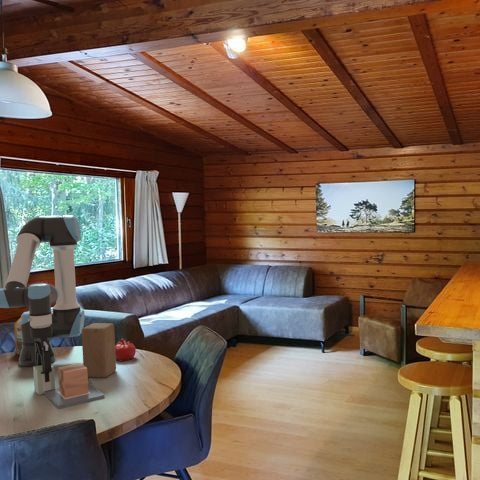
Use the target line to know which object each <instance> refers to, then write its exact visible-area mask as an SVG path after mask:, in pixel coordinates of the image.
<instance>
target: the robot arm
mask: <svg viewBox="0 0 480 480" xmlns="http://www.w3.org/2000/svg"><path fill="white" fill-rule="evenodd" d="M81 234H82V233H81V226H80V223H79V220H78V219H77V217H76V216H75V215H70V214H69V215H68V214H62V215H60V214H59V215H56V214H55V215H38V216H35V217H33V218H31V219H30V220H29V221H27V222H26V223H25V224H24V225H23V226H22V228H21V229H20V230H19V232H18V234H17V237H16V244H17V245H16V249H15V251H14V252H15V253H14V256H13V259H12V262H11V265H10V269H9V273H8V277H7V279H6V283H5V287H2V288H0V308H1V309H2V308H3V309H11V308H27V307H28V311H24V312H25V313H24V312H23V313H22V314H21V316H20V318H21V332H22V350H21V353H20V355H19V358H18V365H19V366H20V367H21V366H22V367H26V368H27V367H32V368H33V367H35V366H41V365H42V369H43V372H41V374H42V381H43V391H47V390H51V377H50V372H52V367H51V365H52V363H54V362H55V361H56V353H55V351H54V348H53V346H52V343H51V339H53V338H72V337H79V336H81V335H82V328H84V327H85V326H84V325H85V317H86V314H85V310H84V309H81V305H80V304H79V303H78V302H77V287H76V284H77V283H76V269H75V267H76V266H75V248H76V247H77V246H78V242H80V241H81V240H82V235H81ZM41 243H49V248H51V249H52V251H53V268H54V269H53V270H54V285H52V284H51V285H50V284H49V283H34V284H30V285H27V284H28V281H29V277H30V273H31V270H32V266H33V262H34V259H35V256H36V251H37V249H38V248H39V247H40V245H41ZM54 304H55V305H54ZM52 305H54V306H53V307H52Z"/></svg>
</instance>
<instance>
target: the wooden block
mask: <svg viewBox="0 0 480 480" xmlns="http://www.w3.org/2000/svg"><path fill="white" fill-rule="evenodd" d="M115 335H116V334H115V325H114V323H109V322H107V323H106V322H103V323H101V322H92V323H91V324H89V325H87V326H83V328H82V333H81V347H82V349H81V350H82V365H84V366H85V367H86V368H87V372H88V378H97V377H98V378H99V379H102V378H103V379H104V378H105V377H106V378H107V377H109V376H111V375H112V374H113V373H115V372H116V370H117V360H116V355H115V346H116V337H115Z"/></svg>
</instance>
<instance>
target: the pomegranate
mask: <svg viewBox="0 0 480 480" xmlns="http://www.w3.org/2000/svg"><path fill="white" fill-rule="evenodd" d="M120 340H121V342H120V341H118V342H117V343H116V344H115V355H116V361H118V362H125V361H129V360H132V359H133V358H135V355H136V352H137V348H136V346H135V345H134V343H132V342H131V341H127V342H126V340H125V339H124V338H121V339H120Z"/></svg>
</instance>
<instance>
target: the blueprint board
mask: <svg viewBox="0 0 480 480" xmlns="http://www.w3.org/2000/svg"><path fill="white" fill-rule="evenodd" d="M88 392H89V393H86V394H82V395H77V396H73V397H69V398H65V397H64V396H63V395H62V394H61V393H60V392H59V388H58V387H57V388H55V389H52V390H48V391H44V393H45V394H44V396H46V397H47V398H48V399H49V401H50V402H52V403H51V404H53V405H54V406H55V407H56V409H58V410H59V409H62V408H67V407H71V406H75V405H79V404H83V403H87V402H88V403H89V402H91V401H92V402H93V401H96V400H101V399H105V398H104V397H105V394H104V393H103V392H101V390H99V388H96V387H95V385H93V384H92V383H90V382H89V381H88ZM100 398H101V399H100Z"/></svg>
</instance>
